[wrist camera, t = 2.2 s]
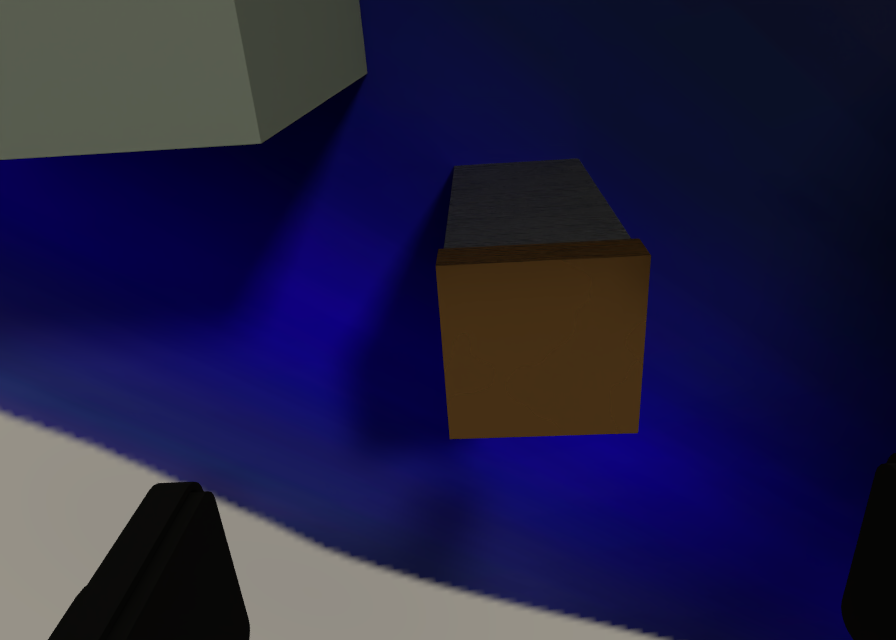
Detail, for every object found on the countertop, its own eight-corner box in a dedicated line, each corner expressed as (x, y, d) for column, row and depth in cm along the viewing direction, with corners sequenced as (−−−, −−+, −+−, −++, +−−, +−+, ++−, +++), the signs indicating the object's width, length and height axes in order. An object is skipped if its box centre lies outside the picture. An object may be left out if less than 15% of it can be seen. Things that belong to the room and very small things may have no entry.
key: (581, 155, 21) (651, 255, 13) (579, 276, 23) (638, 433, 14) (451, 162, 21) (435, 266, 13) (459, 282, 23) (449, 439, 15)
